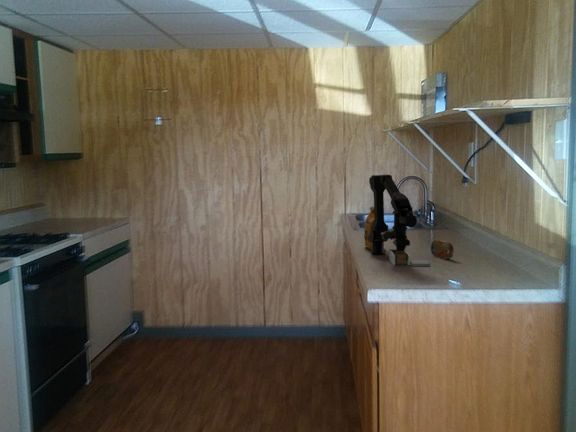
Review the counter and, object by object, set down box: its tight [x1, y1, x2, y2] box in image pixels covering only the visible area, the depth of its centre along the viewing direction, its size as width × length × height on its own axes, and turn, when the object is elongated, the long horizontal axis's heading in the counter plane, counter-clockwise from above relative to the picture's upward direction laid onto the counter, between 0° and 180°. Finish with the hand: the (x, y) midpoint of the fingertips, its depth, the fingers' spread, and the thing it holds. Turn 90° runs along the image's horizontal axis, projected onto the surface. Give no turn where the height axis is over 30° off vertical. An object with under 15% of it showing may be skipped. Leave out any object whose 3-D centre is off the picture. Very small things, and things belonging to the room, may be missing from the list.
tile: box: [410, 259, 431, 267], centre depth 255 cm, size 8×8×1 cm
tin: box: [430, 239, 454, 260], centre depth 270 cm, size 15×3×8 cm, turn 21°
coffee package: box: [363, 206, 385, 251], centre depth 294 cm, size 10×12×22 cm
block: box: [395, 251, 406, 265], centre depth 257 cm, size 4×4×5 cm
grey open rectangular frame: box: [388, 248, 411, 266], centre depth 260 cm, size 13×8×5 cm, turn 178°
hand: (399, 257), depth 260 cm, fingers closed
